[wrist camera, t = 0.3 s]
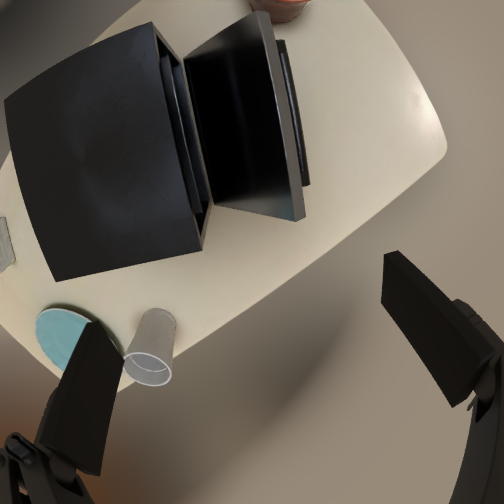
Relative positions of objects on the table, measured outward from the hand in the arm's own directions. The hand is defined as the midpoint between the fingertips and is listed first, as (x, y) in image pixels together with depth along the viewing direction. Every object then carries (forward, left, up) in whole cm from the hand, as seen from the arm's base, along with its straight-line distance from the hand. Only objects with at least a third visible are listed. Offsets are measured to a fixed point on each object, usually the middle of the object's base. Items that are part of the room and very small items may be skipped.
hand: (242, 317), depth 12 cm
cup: (+10, -27, -30) cm, 42 cm away
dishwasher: (-13, -7, -30) cm, 34 cm away
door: (-8, +3, -31) cm, 32 cm away
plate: (+2, -47, -30) cm, 56 cm away
